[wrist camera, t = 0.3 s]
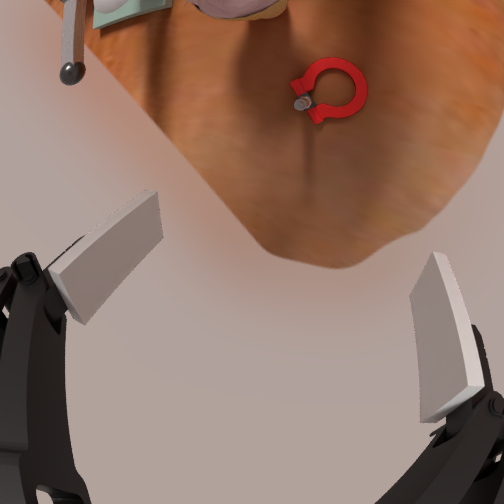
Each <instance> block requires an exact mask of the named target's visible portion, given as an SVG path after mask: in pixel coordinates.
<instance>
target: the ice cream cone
mask: <svg viewBox="0 0 504 504" xmlns="http://www.w3.org/2000/svg"><path fill="white" fill-rule="evenodd" d="M189 1H190V2H191V3H192V4H193V5H194V6H195V7H196V9H197V10H199V11H200V12H202V13H204V14H206V15H208V16H210V17H212V18H214V19H221V20H229V21H241V20H257V19H260V18H263V19H270V18H274V17H277V16H278V15H280V14H281V13H282V12H283V11H284V10H285V9H286V6H287V1H288V0H187V1H186V3H185V5H186V4H187V3H188V2H189ZM185 5H184V6H185Z"/></svg>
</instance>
